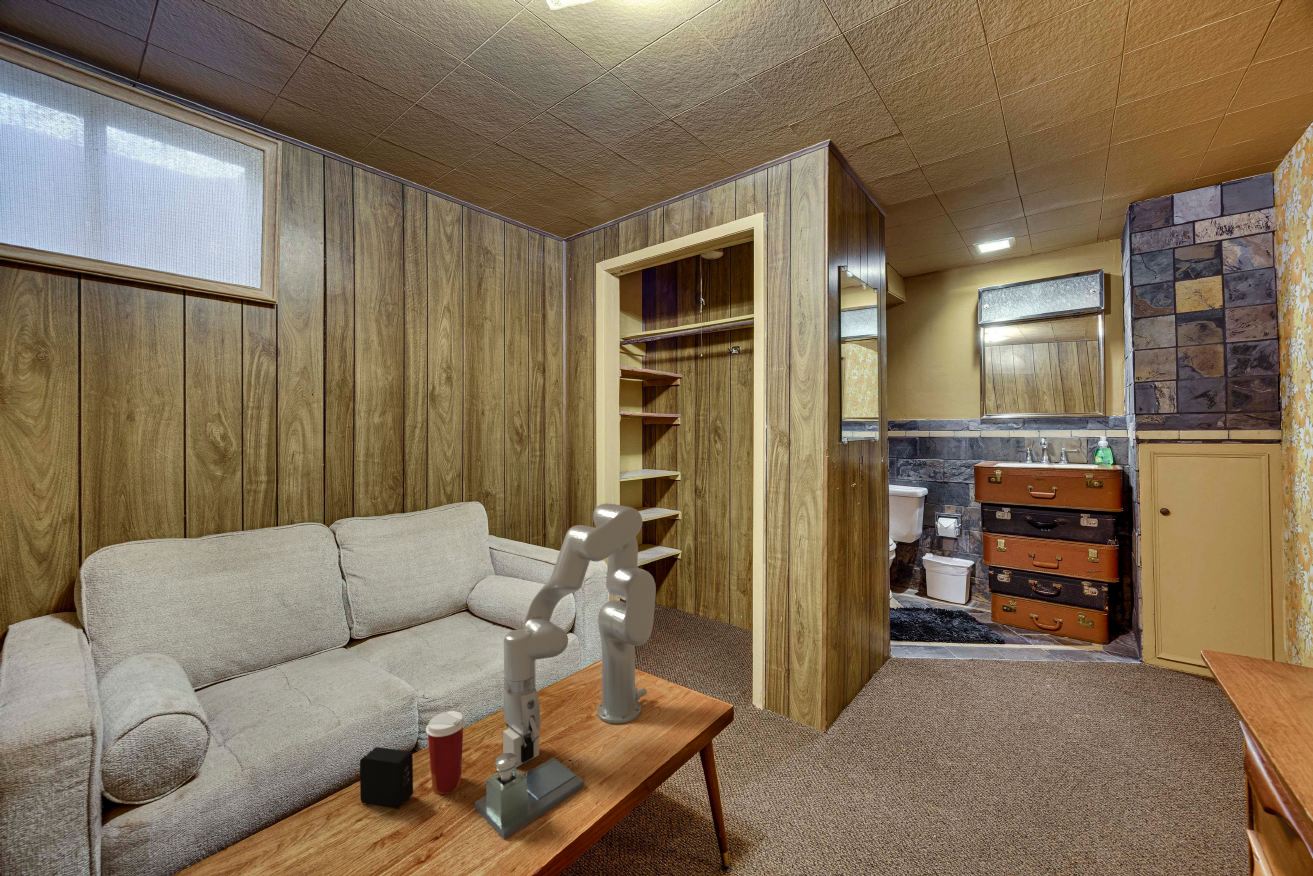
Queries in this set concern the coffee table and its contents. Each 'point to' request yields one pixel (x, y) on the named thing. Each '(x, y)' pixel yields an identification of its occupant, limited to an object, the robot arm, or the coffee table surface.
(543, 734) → the coffee table surface
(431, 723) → the coffee cup
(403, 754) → the electronic device
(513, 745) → the block
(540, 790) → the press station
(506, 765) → the pin
